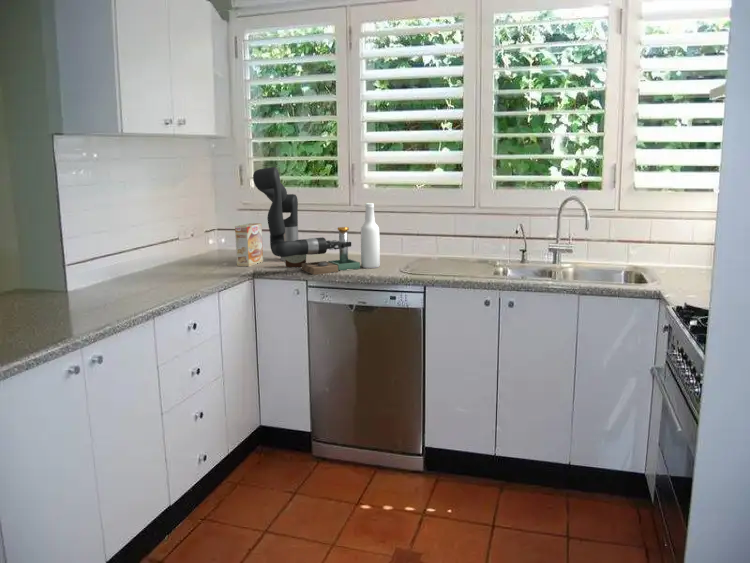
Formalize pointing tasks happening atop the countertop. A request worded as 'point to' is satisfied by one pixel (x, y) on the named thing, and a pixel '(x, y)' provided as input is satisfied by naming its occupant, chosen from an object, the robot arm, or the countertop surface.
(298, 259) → the food container
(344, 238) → the pin
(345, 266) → the tray
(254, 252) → the coffeecake box
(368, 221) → the alcohol
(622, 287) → the countertop surface
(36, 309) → the countertop surface
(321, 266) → the block
